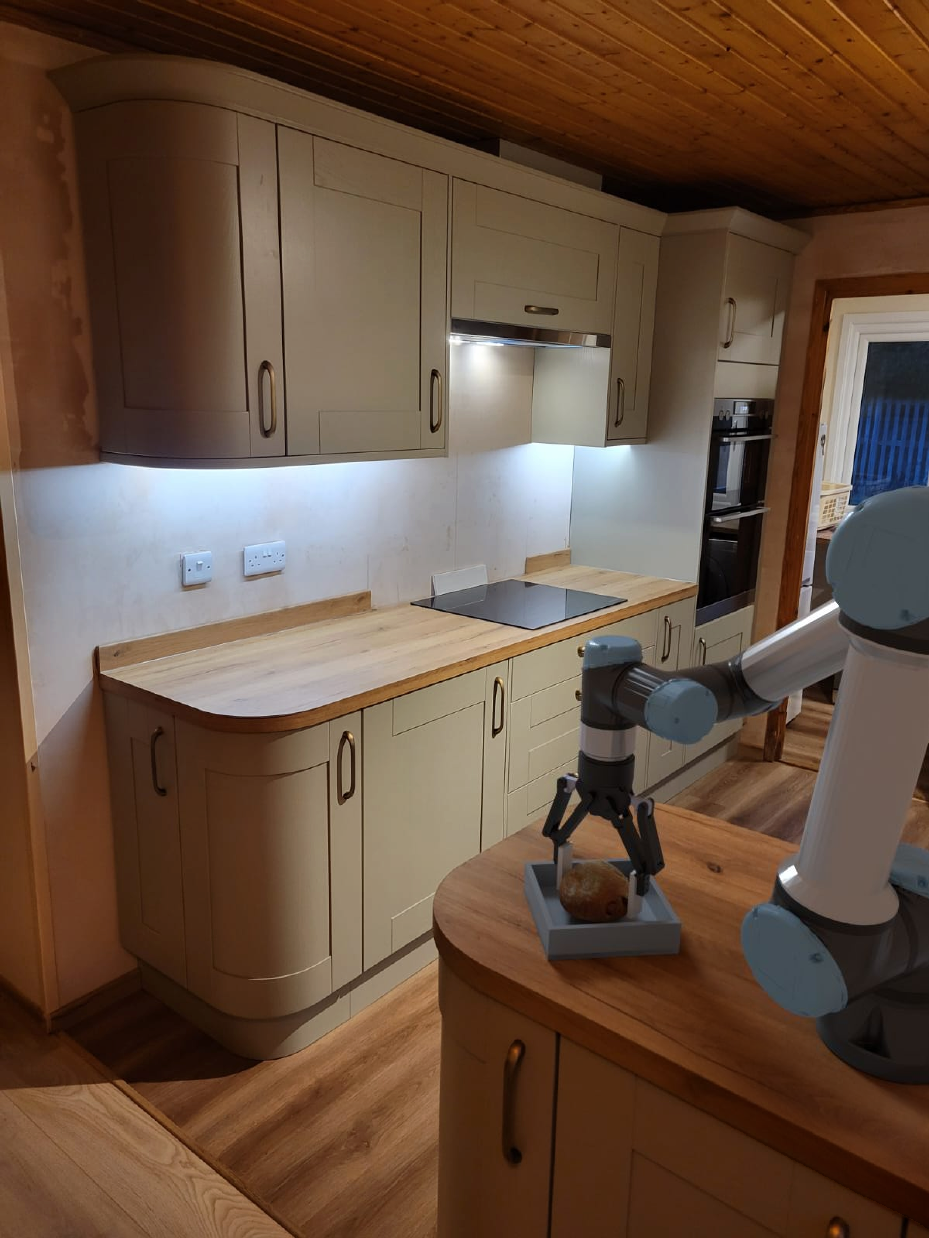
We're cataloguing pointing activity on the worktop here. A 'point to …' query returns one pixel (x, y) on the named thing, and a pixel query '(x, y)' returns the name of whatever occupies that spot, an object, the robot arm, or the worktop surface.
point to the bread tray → (590, 939)
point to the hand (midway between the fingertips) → (598, 899)
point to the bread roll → (595, 892)
